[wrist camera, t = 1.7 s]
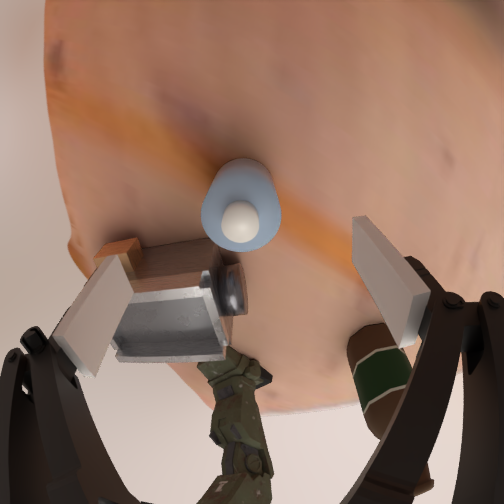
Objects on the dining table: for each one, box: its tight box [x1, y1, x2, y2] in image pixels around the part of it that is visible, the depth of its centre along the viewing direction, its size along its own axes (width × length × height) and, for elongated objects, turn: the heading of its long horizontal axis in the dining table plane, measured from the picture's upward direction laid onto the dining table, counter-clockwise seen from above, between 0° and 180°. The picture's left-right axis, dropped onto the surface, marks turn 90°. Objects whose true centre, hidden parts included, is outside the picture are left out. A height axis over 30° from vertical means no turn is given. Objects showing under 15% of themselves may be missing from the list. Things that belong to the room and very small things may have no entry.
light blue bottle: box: [201, 158, 281, 252], centre depth 21 cm, size 6×6×8 cm
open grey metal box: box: [84, 238, 248, 363], centre depth 26 cm, size 15×11×8 cm
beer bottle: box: [347, 323, 434, 497], centre depth 25 cm, size 8×8×24 cm
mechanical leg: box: [197, 346, 274, 504], centre depth 26 cm, size 14×7×30 cm, turn 41°
